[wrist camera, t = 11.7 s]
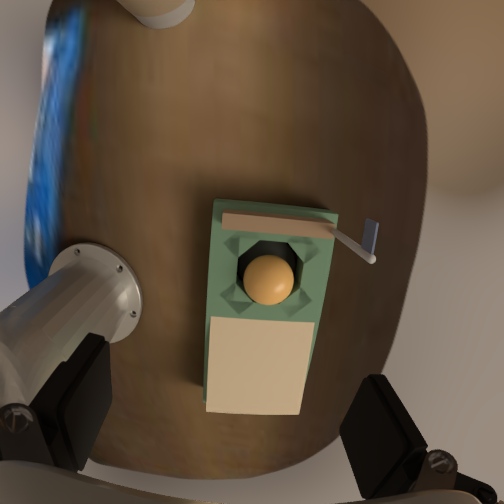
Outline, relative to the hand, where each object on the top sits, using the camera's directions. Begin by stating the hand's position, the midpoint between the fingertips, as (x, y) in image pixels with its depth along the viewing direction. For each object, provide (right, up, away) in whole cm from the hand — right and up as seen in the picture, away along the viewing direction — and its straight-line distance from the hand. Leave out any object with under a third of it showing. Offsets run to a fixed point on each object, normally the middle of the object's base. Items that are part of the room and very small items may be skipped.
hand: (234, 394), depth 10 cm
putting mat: (+2, -2, +25) cm, 26 cm away
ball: (+2, +2, +21) cm, 22 cm away
